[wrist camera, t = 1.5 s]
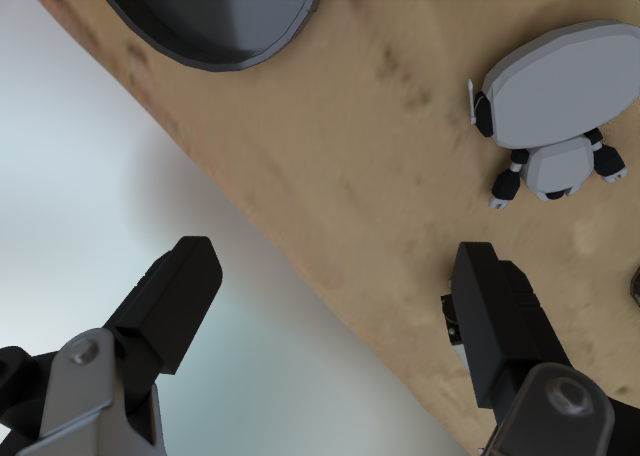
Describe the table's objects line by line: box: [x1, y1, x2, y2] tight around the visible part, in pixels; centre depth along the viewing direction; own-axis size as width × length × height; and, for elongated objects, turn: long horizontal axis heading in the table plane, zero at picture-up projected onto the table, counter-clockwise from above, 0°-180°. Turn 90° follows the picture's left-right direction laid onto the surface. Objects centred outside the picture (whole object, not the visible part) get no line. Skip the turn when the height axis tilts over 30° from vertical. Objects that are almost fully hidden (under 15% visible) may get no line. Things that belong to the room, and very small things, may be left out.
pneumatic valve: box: [441, 279, 471, 376], centre depth 37 cm, size 6×12×12 cm, turn 32°
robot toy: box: [467, 19, 640, 209], centre depth 26 cm, size 12×4×15 cm
